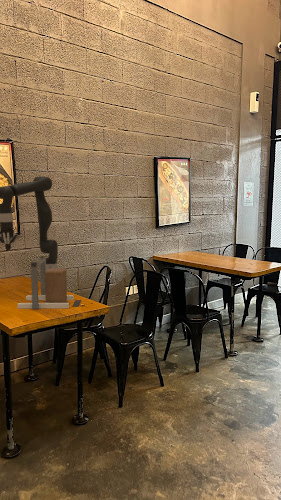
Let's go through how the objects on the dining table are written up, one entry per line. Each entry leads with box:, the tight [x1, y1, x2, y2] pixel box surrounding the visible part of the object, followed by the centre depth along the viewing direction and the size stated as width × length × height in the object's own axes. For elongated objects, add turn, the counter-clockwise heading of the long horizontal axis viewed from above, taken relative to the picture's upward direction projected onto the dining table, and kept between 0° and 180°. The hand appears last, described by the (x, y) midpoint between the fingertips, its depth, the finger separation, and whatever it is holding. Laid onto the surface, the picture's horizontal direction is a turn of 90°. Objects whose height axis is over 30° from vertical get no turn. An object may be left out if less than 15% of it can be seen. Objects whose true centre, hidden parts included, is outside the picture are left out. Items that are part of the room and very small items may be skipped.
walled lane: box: [17, 294, 74, 309], centre depth 224 cm, size 20×28×2 cm
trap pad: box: [71, 299, 82, 308], centre depth 224 cm, size 14×4×1 cm, turn 2°
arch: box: [30, 255, 47, 310], centre depth 222 cm, size 24×3×26 cm, turn 2°
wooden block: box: [45, 268, 68, 303], centre depth 222 cm, size 10×10×20 cm
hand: (8, 250), depth 230 cm, fingers closed
